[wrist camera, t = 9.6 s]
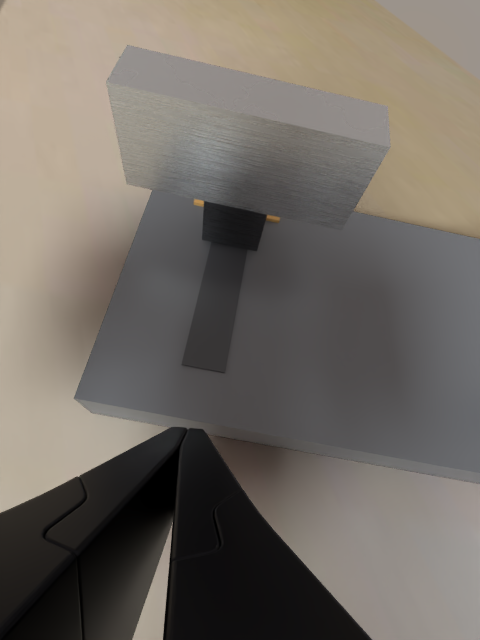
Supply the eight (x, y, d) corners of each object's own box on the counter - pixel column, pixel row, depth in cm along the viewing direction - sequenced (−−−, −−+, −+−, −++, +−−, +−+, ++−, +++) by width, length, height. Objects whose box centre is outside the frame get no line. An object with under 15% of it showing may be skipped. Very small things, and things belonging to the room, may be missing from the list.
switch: (319, 267, 19) (390, 147, 12) (135, 229, 18) (106, 81, 12) (321, 233, 20) (387, 106, 13) (147, 196, 19) (127, 44, 13)
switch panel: (653, 515, 19) (737, 520, 16) (91, 412, 17) (72, 397, 14) (578, 294, 25) (628, 268, 22) (163, 205, 24) (159, 166, 21)
